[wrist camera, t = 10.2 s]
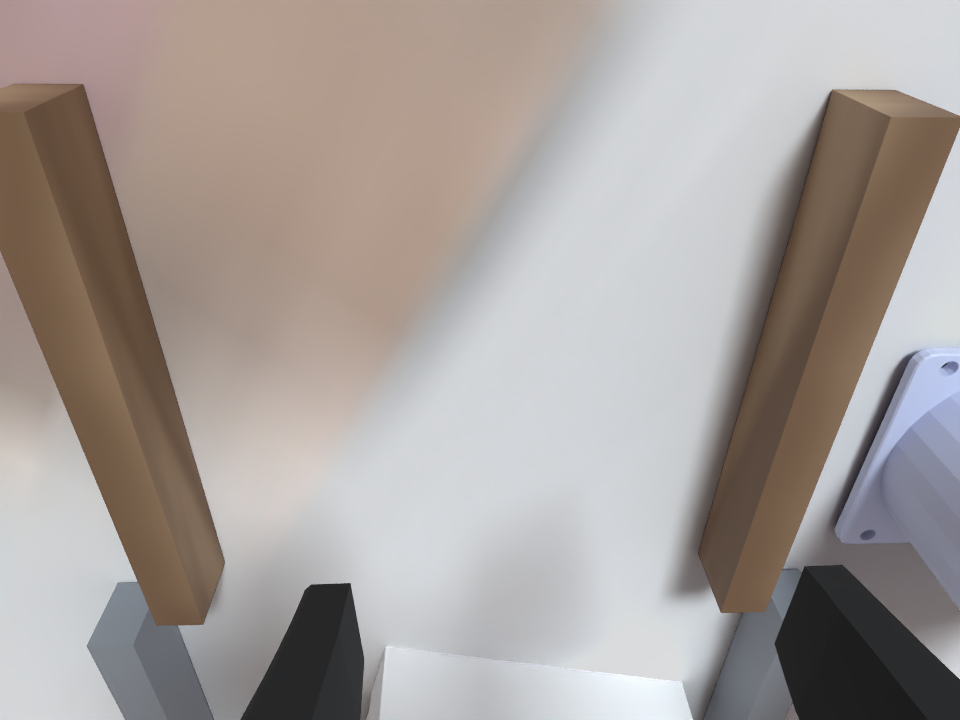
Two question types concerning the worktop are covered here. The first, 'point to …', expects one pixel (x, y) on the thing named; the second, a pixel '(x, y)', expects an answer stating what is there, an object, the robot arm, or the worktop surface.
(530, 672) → the bracket
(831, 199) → the brown rectangular beams
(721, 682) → the gray u-shaped frame
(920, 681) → the robot arm
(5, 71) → the worktop surface
